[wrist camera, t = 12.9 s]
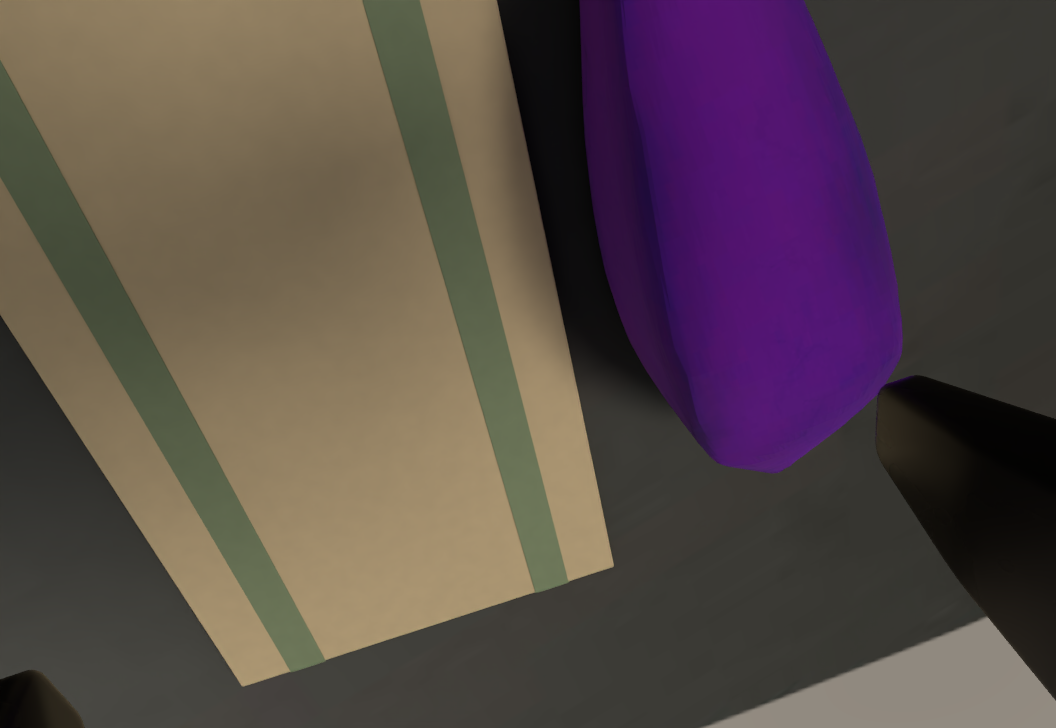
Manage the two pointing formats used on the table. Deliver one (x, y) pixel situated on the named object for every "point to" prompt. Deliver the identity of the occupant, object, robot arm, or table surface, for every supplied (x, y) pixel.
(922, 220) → the table surface
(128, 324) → the cloth
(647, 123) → the purple long tapered piece
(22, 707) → the robot arm
